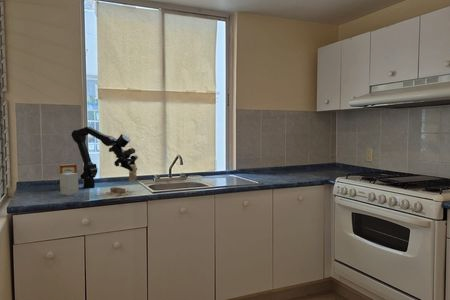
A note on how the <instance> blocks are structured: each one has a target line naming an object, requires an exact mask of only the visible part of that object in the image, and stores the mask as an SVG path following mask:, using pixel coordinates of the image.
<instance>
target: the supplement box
mask: <svg viewBox="0 0 450 300" xmlns="http://www.w3.org/2000/svg"><path fill="white" fill-rule="evenodd" d="M60 187H61V189H60V195H63V196H67V197H69V196H74V195H79V194H80V193H79V173H78V172H77V173H63V174H60V173H59V188H60Z"/></svg>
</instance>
